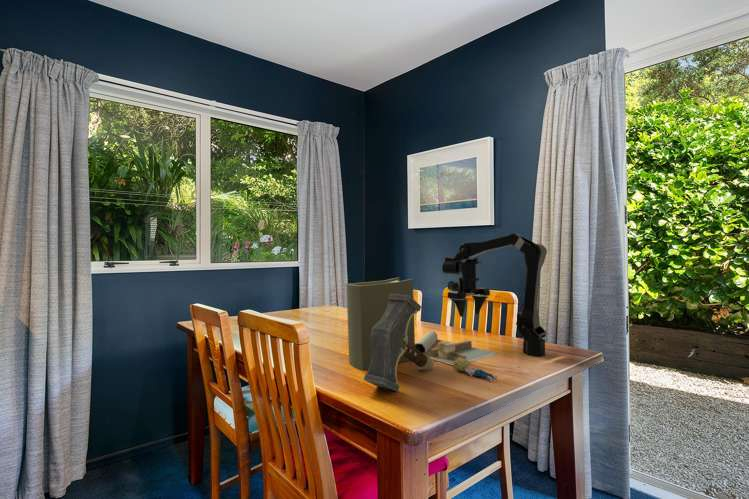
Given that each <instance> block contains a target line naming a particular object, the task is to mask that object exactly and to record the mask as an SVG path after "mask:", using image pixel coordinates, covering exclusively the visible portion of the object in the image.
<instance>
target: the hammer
mask: <svg viewBox="0 0 749 499" xmlns="http://www.w3.org/2000/svg"><path fill="white" fill-rule="evenodd" d="M388 300H389V304H388V306H387V309H386V311H385V313H384V315H383V316H382V317H381V319H380V320H379V321H378V323H377V324H376V325H375V326H374V327H373V328H372V331H371V343H372V351H371V360H370V366H369V369H367V373H365V375H364V376H363V381H365V382H367V383H369V384H371V385H373V386H375V387H377V388H381V389H385V390H389V391H393V392H397V393H399V392H400V385H399V379H398V376H397V371H398V370H397V369H398V364H399V362H398V361H399V359H400V357H401V356H404V357H405V358H407V359H409V361H408V362H410V363H413V364H414V365H415V367H416V368H418V369H419V370H420V371H421V370H422V371H423V372H427V371H429V370H431V369H432V368H433V365H434V362H433V360H432V359H433V358H431V357H429V356H430V355H428V354H427V353H426V354H425V352H422V351H421V350H417V349H416V348H415V347H413V346H412V345H410V344H408V336H407V330H408V325H409V322H410V320H411V318H412V317H413V316H414V317H415V315H416V314H418V312H420V311H421V308H422V305H420V304H419V303H418V302H417V301H416V300H415V299H414V297H413V298H411V297H410V296H408V295H399V294H389V299H388Z"/></svg>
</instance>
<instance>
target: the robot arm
mask: <svg viewBox="0 0 749 499" xmlns="http://www.w3.org/2000/svg"><path fill="white" fill-rule="evenodd" d="M510 246H514V247H515V248H516V249H517V250H519V251H520V252H521V253H522V254H523V255H524V256H523V257H524V262H525V267H526V276H525V277H526V279H525V290H524V300H523V301H524V302H523V309H522V311H520V312H516V313H517V314H516V322H515V325H517V326H516V327H517V330H518V331H519V333H520V334H521V336H522V339H523V341H522V351H523V352H522V353H523V354H525V355H527V356H530V357H539V358H541V357H545V356H546V339H545V337H546V335H547V331H546V330H545V329H544V328H543V327H542V326H541V323H540V316H539V312H538V300H539V289H540V288H539V287H540V279H541V270H542V267H543V265H544V263H545V260H546V258H547V252H548V250H547V248H546V247H545V245H544V244H542V243H535V242H534V241H532V240H530V239H528V238H526V237H524V236H522V235H521V233H510V234H509V235H505V236H500V237H497V238H494V239H488V240H485V241H479V242H465V243H461V245H460V246H459V249H458V251H457V253H456V255H455V256H454V257H450V256H448V257H444V261H443V263H442V267H441V270H442V272H443V274H445V275H453V276H454V275H457V276H458V275H460V273H461V277H459V278H458V281H457V282H454V281H453V280H449V281H448V282H447V290H448V292H447V299H449V300H451V301H452V302H453V303H454V305H455V306H456V308H457V311H458V314H459V317H460V318H463V316H464V313H465V310H466V303H467V299H466V297H469V296H471V297H472V298H473V300H474V311H475V315H479V314H480V312H481V309H482V307H483V306H484V303H485V302H486V300H487V299H488V297H489V296H490V295H491V290H490V289H489V288H488V287H480V286H479V287H477V286H478V285H477V282H478V281H480V278H479V277H478V276H477V275H478V274H477V271H478V270H477V268H478V267H477V266H478V265H480V264H483V261H482V260H480V259H479V257H478V256H480V255H482V254H483V253H487V252H489V251H493V250H497V249H502V248H506V247H510ZM471 258H473V259H471Z"/></svg>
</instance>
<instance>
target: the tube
mask: <svg viewBox="0 0 749 499" xmlns="http://www.w3.org/2000/svg"><path fill="white" fill-rule="evenodd" d="M438 339H439V338H438V334H437V333H436V331H434V330H433V331H432V330H429V331H428V332H427V333H425V334H424V335H423V336H422V337H421V338H420V339H419V340H418V341H417V342H415V348H416V349H417V350H419V349H421V348H422V347H423V349H424V353H425V354H427V353H428V352H429V351H430V349H432V347H433V346H434V345H435V343H436V342H437V341H438ZM419 351H420V350H419Z"/></svg>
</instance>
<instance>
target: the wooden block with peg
mask: <svg viewBox="0 0 749 499" xmlns="http://www.w3.org/2000/svg"><path fill="white" fill-rule="evenodd" d="M455 343H456V342H452V341H447V340H446V341H439V342H438V343H437V344H438V357H440V358H443V359H452V358H454V357H456V358H457V357H458V356H460V357H461V358H462V359H466V355H462V354H458V353H455Z"/></svg>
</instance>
